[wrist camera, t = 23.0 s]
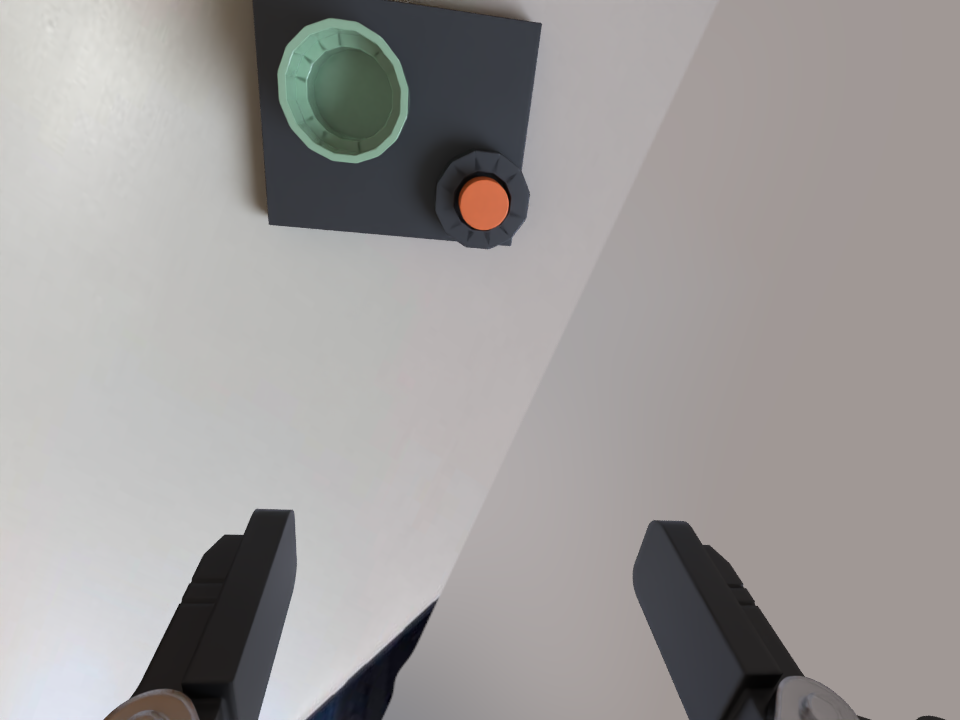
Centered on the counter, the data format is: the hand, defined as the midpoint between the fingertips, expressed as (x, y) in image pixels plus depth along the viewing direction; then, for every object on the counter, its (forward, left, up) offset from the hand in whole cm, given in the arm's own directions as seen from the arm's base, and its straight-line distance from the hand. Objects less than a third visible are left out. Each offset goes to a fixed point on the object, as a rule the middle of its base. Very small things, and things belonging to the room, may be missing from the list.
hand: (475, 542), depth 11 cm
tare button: (-2, -4, -25) cm, 25 cm away
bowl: (+6, -9, -26) cm, 28 cm away
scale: (+3, -7, -28) cm, 29 cm away
